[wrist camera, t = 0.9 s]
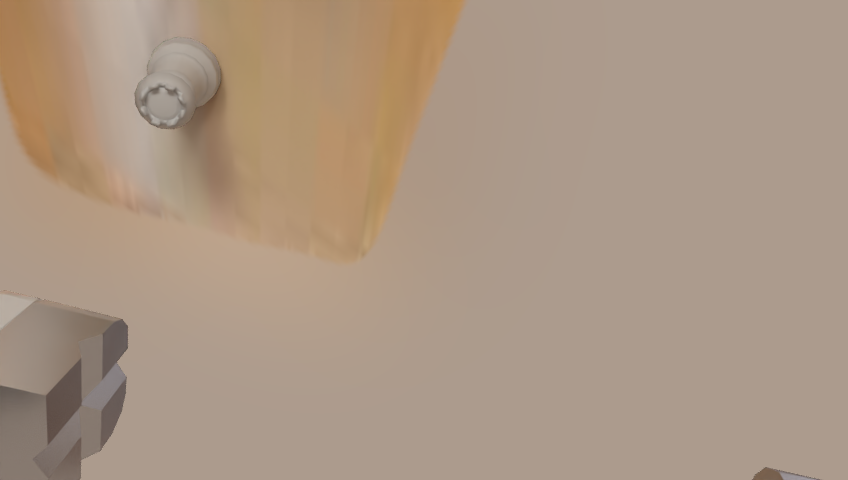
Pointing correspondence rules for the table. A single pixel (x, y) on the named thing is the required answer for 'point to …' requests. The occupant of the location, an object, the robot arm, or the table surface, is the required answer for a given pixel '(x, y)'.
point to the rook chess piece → (177, 82)
